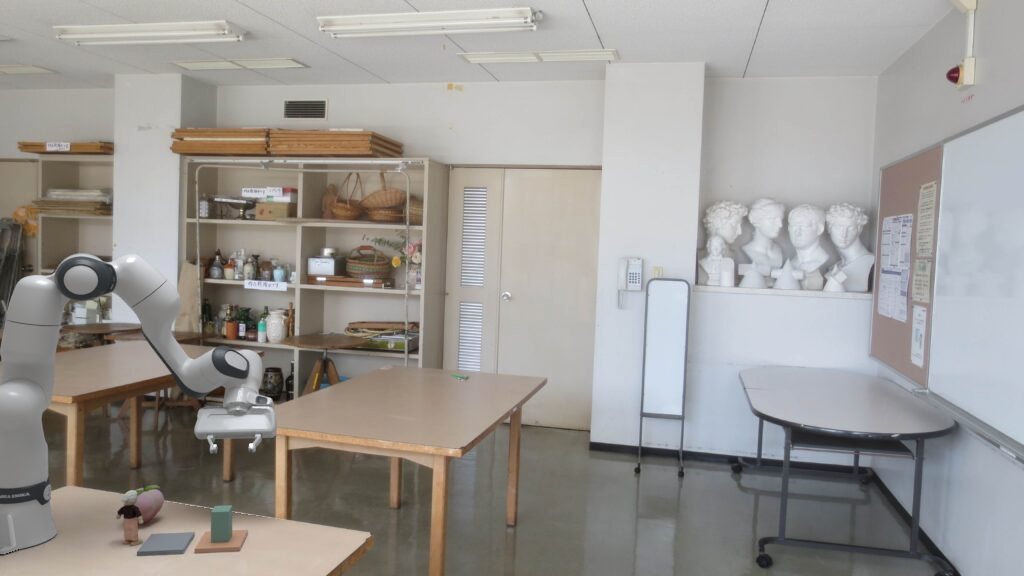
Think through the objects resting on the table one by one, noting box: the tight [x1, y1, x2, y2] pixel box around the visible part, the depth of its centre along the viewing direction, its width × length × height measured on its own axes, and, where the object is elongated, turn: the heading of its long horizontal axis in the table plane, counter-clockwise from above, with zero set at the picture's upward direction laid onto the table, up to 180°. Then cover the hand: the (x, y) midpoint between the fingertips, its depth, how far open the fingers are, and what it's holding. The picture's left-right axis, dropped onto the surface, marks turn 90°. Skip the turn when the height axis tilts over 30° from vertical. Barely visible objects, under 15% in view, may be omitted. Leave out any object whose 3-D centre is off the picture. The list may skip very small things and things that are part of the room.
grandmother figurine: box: [115, 489, 144, 546], centre depth 171 cm, size 8×4×13 cm, turn 84°
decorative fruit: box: [123, 484, 165, 524], centre depth 182 cm, size 9×8×10 cm
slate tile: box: [136, 531, 196, 557], centre depth 170 cm, size 10×10×1 cm
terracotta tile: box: [194, 529, 249, 554], centre depth 172 cm, size 10×10×1 cm
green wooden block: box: [210, 504, 233, 543], centre depth 172 cm, size 4×4×8 cm
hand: (232, 451), depth 182 cm, fingers open, 8 cm apart
